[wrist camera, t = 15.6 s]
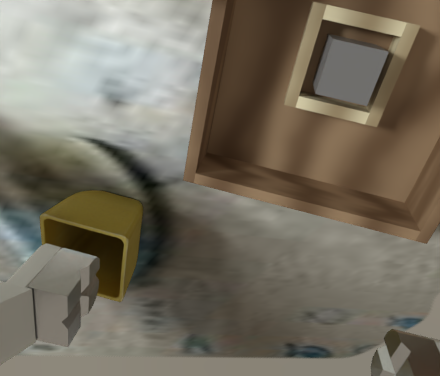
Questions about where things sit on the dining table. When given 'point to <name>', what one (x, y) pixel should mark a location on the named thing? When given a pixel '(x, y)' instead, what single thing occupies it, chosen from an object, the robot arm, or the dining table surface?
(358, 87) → the plain grey cube
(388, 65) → the walled box
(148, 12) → the dining table surface
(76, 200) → the flower pot
